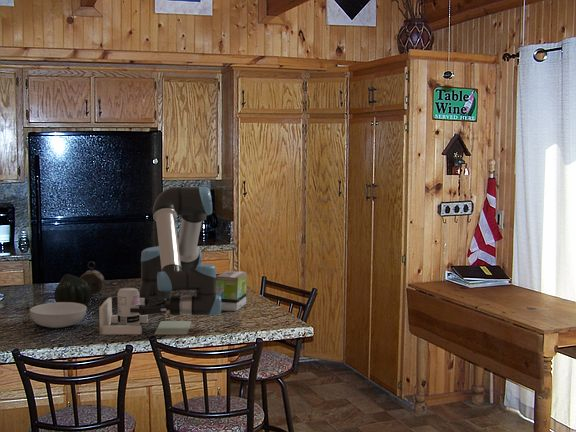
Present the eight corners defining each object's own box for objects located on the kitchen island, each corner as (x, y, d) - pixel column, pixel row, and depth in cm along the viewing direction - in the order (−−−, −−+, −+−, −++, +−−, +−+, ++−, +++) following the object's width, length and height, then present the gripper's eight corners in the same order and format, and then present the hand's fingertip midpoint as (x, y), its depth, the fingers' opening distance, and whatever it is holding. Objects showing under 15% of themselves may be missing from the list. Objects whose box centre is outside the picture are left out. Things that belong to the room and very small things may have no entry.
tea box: (237, 311, 300) (238, 277, 298) (215, 310, 302) (215, 275, 300) (246, 303, 314) (247, 270, 313) (225, 302, 316) (225, 269, 315)
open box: (147, 322, 280) (147, 297, 279) (141, 334, 262) (141, 307, 261) (108, 322, 279) (108, 297, 278) (99, 334, 262) (99, 307, 261)
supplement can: (119, 325, 274) (119, 287, 273) (141, 325, 275) (140, 287, 274) (116, 331, 266) (115, 291, 265) (138, 330, 267) (138, 291, 266)
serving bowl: (55, 335, 260) (55, 317, 259) (18, 327, 271) (18, 309, 270) (98, 323, 277) (98, 306, 277) (62, 316, 288) (61, 299, 288)
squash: (100, 295, 303) (86, 266, 308) (69, 302, 292) (55, 272, 297) (88, 312, 311) (74, 284, 316) (57, 319, 300) (43, 290, 305)
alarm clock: (105, 295, 327) (104, 260, 325) (101, 298, 322) (100, 262, 320) (82, 294, 328) (81, 260, 326) (77, 297, 323) (77, 262, 321)
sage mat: (154, 334, 262) (154, 333, 262) (160, 322, 280) (160, 321, 280) (187, 334, 263) (187, 333, 263) (191, 322, 281) (191, 321, 281)
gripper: (177, 323, 259) (118, 323, 257) (183, 307, 284) (130, 307, 282) (177, 303, 258) (118, 303, 257) (183, 289, 283) (129, 289, 281)
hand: (124, 305), depth 269 cm, fingers open, 13 cm apart
